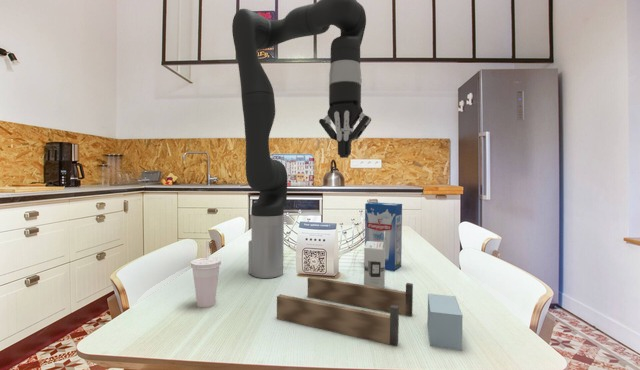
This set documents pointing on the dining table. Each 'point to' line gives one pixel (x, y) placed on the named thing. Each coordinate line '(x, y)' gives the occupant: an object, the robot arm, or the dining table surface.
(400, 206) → the milk carton
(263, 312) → the dining table surface
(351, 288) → the chute
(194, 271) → the smoothie
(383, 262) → the ink box
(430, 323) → the slate block
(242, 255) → the dining table surface
